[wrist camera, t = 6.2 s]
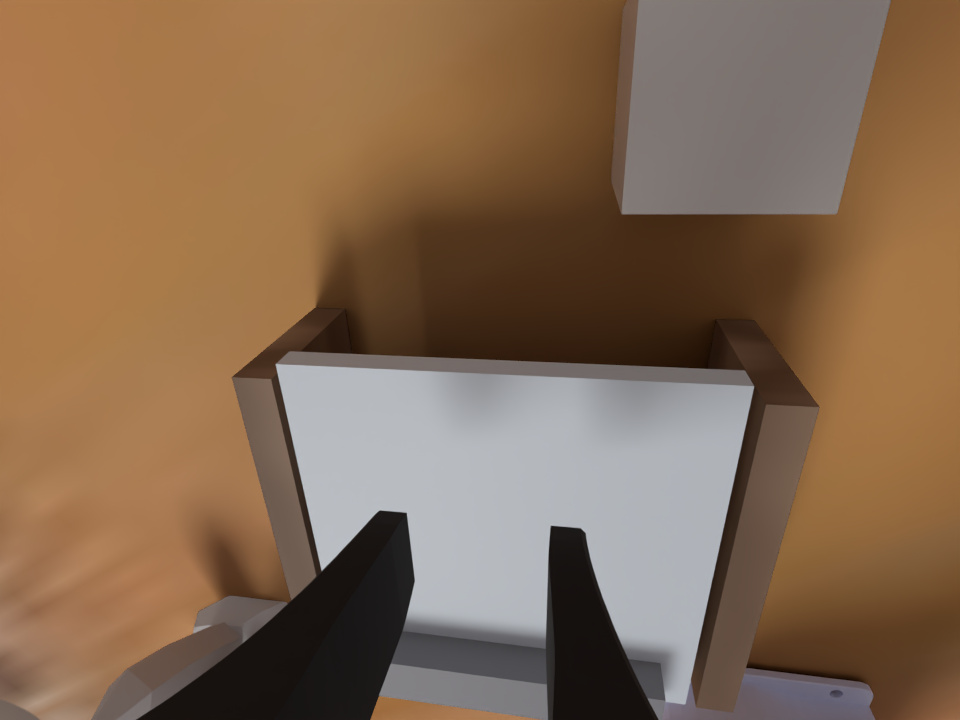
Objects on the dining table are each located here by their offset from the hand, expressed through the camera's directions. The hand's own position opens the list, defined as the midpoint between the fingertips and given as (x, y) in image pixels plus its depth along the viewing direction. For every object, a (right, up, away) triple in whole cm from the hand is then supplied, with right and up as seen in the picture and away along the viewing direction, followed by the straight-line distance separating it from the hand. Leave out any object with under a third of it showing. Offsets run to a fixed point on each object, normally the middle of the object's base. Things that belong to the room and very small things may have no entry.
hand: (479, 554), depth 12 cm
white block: (+6, +12, +4) cm, 14 cm away
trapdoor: (+1, -1, +5) cm, 6 cm away
